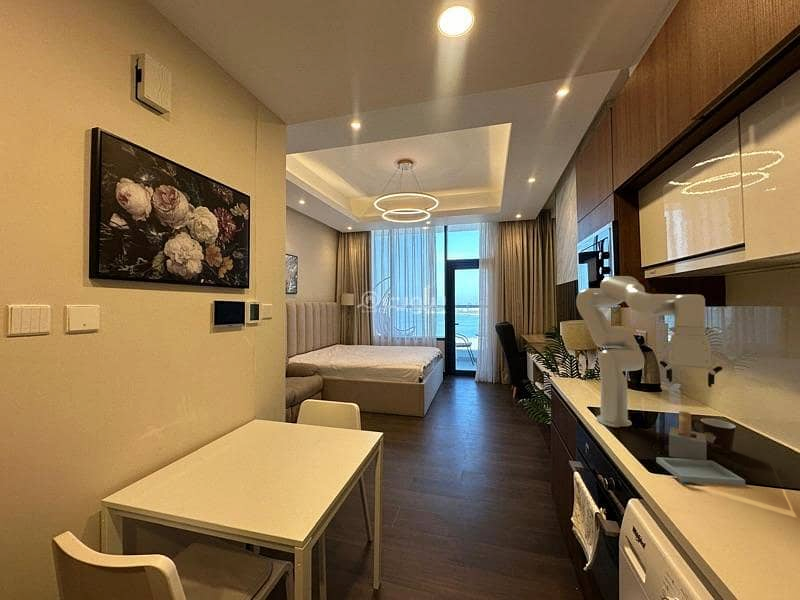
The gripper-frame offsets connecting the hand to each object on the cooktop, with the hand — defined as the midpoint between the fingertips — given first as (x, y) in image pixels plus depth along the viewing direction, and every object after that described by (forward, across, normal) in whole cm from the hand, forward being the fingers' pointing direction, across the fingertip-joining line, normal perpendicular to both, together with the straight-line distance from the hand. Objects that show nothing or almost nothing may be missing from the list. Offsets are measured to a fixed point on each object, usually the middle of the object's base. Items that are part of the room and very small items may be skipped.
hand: (689, 383), depth 107 cm
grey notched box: (+25, -1, 0) cm, 25 cm away
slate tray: (+25, +2, -12) cm, 28 cm away
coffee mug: (+25, +6, +15) cm, 30 cm away
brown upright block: (+24, 0, 0) cm, 24 cm away
